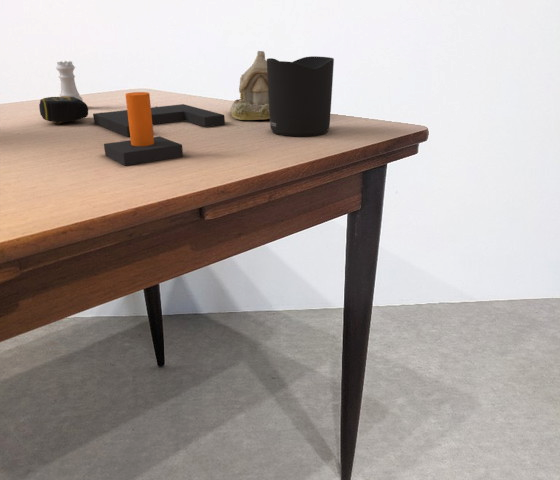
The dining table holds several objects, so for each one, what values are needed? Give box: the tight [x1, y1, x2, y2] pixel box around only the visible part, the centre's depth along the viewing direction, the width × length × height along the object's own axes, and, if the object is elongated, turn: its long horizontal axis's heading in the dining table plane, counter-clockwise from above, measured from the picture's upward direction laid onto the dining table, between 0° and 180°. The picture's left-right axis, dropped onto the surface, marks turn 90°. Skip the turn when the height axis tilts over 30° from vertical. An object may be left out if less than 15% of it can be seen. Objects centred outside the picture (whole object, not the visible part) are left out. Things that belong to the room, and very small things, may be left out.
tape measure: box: [38, 96, 89, 125], centre depth 97 cm, size 7×7×4 cm
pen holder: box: [266, 55, 335, 137], centre depth 87 cm, size 9×9×10 cm
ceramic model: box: [229, 50, 270, 121], centre depth 101 cm, size 14×11×10 cm
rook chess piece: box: [55, 60, 84, 102], centre depth 109 cm, size 4×4×8 cm
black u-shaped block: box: [92, 103, 226, 138], centre depth 95 cm, size 16×14×2 cm
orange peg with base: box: [103, 91, 184, 167], centre depth 73 cm, size 8×6×8 cm
